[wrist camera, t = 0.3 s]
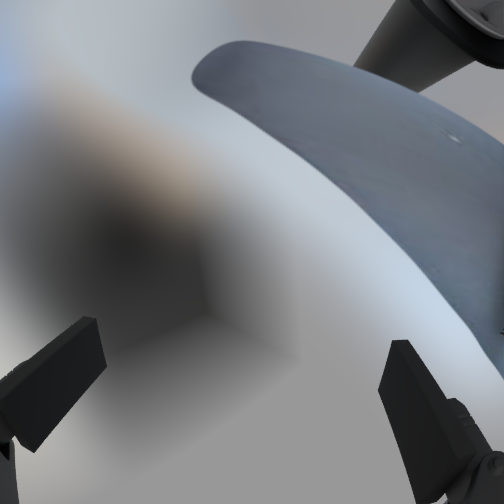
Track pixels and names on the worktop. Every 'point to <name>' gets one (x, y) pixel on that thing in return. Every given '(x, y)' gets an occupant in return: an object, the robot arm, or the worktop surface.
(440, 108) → the worktop surface
